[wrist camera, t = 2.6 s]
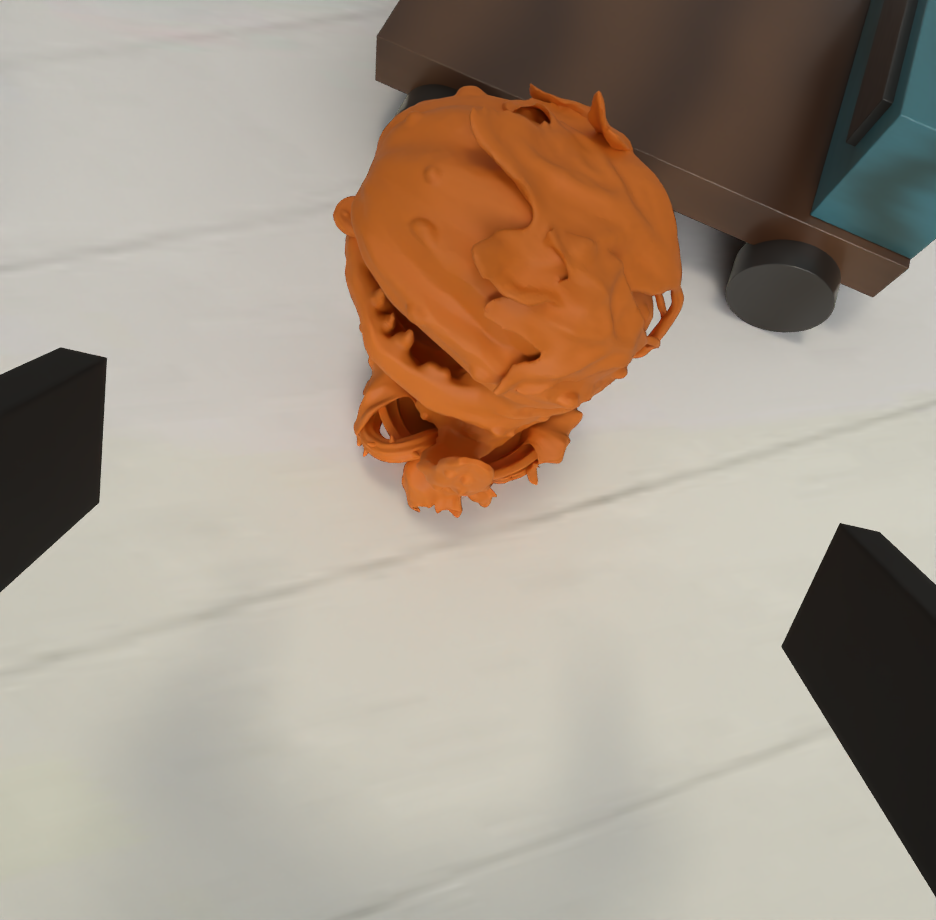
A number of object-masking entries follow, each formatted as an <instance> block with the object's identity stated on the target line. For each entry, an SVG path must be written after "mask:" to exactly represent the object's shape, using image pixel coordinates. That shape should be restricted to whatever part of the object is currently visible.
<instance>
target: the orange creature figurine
mask: <svg viewBox="0 0 936 920" xmlns="http://www.w3.org/2000/svg"><path fill="white" fill-rule="evenodd" d="M529 91H530V95H531V97H532V98H530V99H529V100H508V99H503V98H499V97H495V96H490V95H487V94H486V93H484V92H483V91H482V90H481V89H480V88H478V87H476V86H463V87H462V88H460V89H459V90H458V91H457V93H456V94H455V95H454V96H451V97H445V98H440V99H432V100H425V101H422V102H419V103H417V104H416V105H414V106H411V107H409V108H407V109H406V110H404V111H402V112H401V113H399V114H398V115H397V116H395V117H394V118H393V120H392V121H391V122H390V123H389V124H388V125H387V126H386V127H385V129H384V130H383V132H382V134H381V136H380V138H379V141H378V145H377V150H376V153H375V157H374V160H373V162H372V164H371V166H370V169H369V172H368V174H367V176H366V178H365V180H364V181H363V183H362V185H361V187H360V189H359V191H358V192H357V194H356V196H350V197H347V198H344V199H343V200H341V201H340V202H339V203H338V204H337V206H336V208H335V211H334V214H333V217H334V221H335V223H336V225H337V227H338V228H339V229H340V230H341V231H342V232H343V233H345V234H346V240H345V241H346V244H345V256H346V267H345V276H346V282H347V286H348V289H349V292H350V295H351V298H352V300H353V302H354V305H355V307H356V309H357V312H358V315H359V318H360V325H359V329H360V331H361V333H362V335H363V341H364V346H365V349H366V351H367V353H368V355H369V360H368V363H369V365H370V367H371V369H372V376H371V378H370V380H369V381H368V382H367V384H366V386H365V389H364V391H363V395H364V398H363V400H362V402H361V404H360V407H359V411H358V416H357V419H356V421H355V423H354V431H355V434H356V435H357V445H358V446H361V445H363V447H364V453H363V456H364V457H365V456H366V455H367V454H368V453H369V454H371V455H372V456H373V457H374V458H376V459H379V460H381V461H384V462H389V463H401V462H407V463H406V464H405V466H404V470H403V476H402V485H403V487H404V489H405V492H406V495H407V501H408V505H409V506H410V508H411V509H413V510H415V511H417V512H420V509H419V508H418V506H421V507H428V508H430V507H432V506H433V505H435V510H436V512H437V513H439V512H441V511H442V510H449V511H450V512H451V513H452V514H453V515H454V516H455V517H457V518H458V517H459V516H460V515H461V513H462V506H461V496H468V497H469V498H470V499H471V500H472V501H474V502H478V503H479V504H480V505H481V506H482V507H488V506H489V504H490V503H491V499H492V497H497V495H496V494H495V492H494V491H493V490H492V489H491V488H490V487H491V485H492V484H493V483H498V484H500V483H506V482H508V481H511V480H512V481H513V480H514V479H517V478H521V477H523V476H524V475H526V474H527V476H528V479H529V481H530V482H531V483H532V484H535V485H537V483H538V478H537V467H539V466H538V465H539V464H541V463H560V462H561V461H562V460H563V456H564V452H565V450H566V447H567V446H568V444H569V443H570V439H569V433H570V431H571V430H572V429H573V428H574V427H575V426H577V424H578V423H579V422H580V421H581V419H582V416H583V414H582V413H581V412H580V411H578V410H577V407H579V406H580V404H581V403H583V402H586V401H589V400H591V398H592V396H594V395H595V394H597V393H599V392H600V391H602V390H603V389H604V388H605V387H607V386H608V385H609V384H611V383H612V382H613V381H614V380H615V379H621V378H624V377H625V376H626V375H627V366H628V364H629V363H630V362H631V360H632V358H640V357H643V356H645V355H646V354H647V353H649V352H650V351H651V350H652V349H655V348H659V346H660V340H661V339H662V338H663V336H664V335H665V334H666V332H667V331H668V330H669V328H670V327H671V325H672V324H673V322H674V321H675V319H676V317H677V316H678V314H679V312H680V310H681V308H682V305H683V301H684V296H683V292H682V289H681V286H680V285H681V278H682V266H681V259H680V249H679V243H678V238H677V226H676V219H675V216H674V212H673V208H672V204H671V202H670V199H669V197H668V194H667V192H666V190H665V188H664V187H663V185H662V183H661V182H660V181H659V179H658V178H657V177H656V175H655V174H654V173H653V172H652V171H651V170H650V169H649V168H648V167H647V166H646V165H645V164H644V163H643V162H642V161H641V160H640V159H639V158H638V157H637V156H636V155H635V154H634V153H633V147H632V145H631V143H630V141H629V139H628V138H627V137H626V136H625V135H624V134H623V133H621V132H619V131H618V130H616V129H614V128H613V127H611V126H610V125H609V123H608V121H607V119H606V113H605V103H604V99H603V96H602V93H601V92H600V91H597V92H596V93H595V94H594V96H593V100H592V105H591V107H589V106H586V105H584V104H581V103H579V102H576V101H572V100H567V99H562V98H559V97H556V96H554V95H552V94H549V93H546V92H544V91H542V90H540V89H538V88H537V87H536V86H534V85H533V84H530V88H529ZM668 290H671V298H672V304H671V306H670V308H669V309H668V311H667V310H666V307H665V302H664V298H663V295H662V294H663V293H664V292H666V291H668ZM654 295H655V297H656V302H657V306H658V309H659V311H660V314H661V320H660V321H659V323H658V324H657V325H656V327H655V328H654V329H653V330H652V332H651V333H650V334H649V335H648V336H647V335H646V332H645V331H646V330H647V328H648V326H649V324H650V322H651V320H652V318H653V300H652V296H654ZM382 422H383V424H384V427H385V429H386V430H387V432H388V434H389V436H390V440H389V439H386V438H384V437H383V436H382V435H381V433H380V426H381V424H382ZM537 458H538V459H537ZM539 468H540V467H539Z"/></svg>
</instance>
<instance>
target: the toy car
mask: <svg viewBox="0 0 936 920" xmlns="http://www.w3.org/2000/svg"><path fill="white" fill-rule="evenodd" d="M375 80H376V81H378V82H381V83H383V84H385V85H388V86H390V87H392V88H394V89H397V90H399V91H401V92H404V93H406V94H408V95H407V97H406V98H405V100H404V102H403V103H402V105H401V107H400V108H399V110H398V112H397V114H396V115H395V116H397V115H398V114H399V113H401V112H402V111H404V110H406V109H407V108H409V107H411V106H414V105H416V104H417V103H419V102H422V101H425V100H432V99H440V98H445V97H451V96H454V95H455V94H456V93H457V91H458V90H459V89H460V88H462V87H463V86H476V87H478V88H480V89H481V90H482V91H483V92H484V93H486V94H487V95H490V96H495V97H499V98H503V99H508V100H529V99H530V98H532V97H531V95H530V91H529V88H530V84H533V85H534V86H536V87H537V88H538V89H540V90H542V91H544V92H546V93H549V94H552V95H554V96H556V97H559V98H562V99H567V100H572V101H576V102H579V103H581V104H584V105H586V106H589V107H591V105H592V100H593V96H594V94H595V93H596V92H597V91H600V92H601V93H602V96H603V99H604V103H605V113H606V119H607V121H608V123H609V125H610V126H611V127H613V128H614V129H616V130H618V131H619V132H621V133H623V134H624V135H625V136H626V137H627V138H628V139H629V141H630V143H631V145H632V147H633V153H634V154H635V155H636V156H637V157H638V158H639V159H640V160H641V161H642V162H643V163H644V164H645V165H646V166H647V167H648V168H649V169H650V170H651V171H652V172H653V173H654V174H655V175H656V177H657V178H658V179H659V181H660V182H661V183H662V185H663V187H664V188H665V190H666V192H667V194H668V197H669V199H670V202H671V204H672V208H673V210H674V211H676V212H678V213H681V214H683V215H685V216H687V217H690V218H692V219H694V220H697V221H699V222H701V223H703V224H706V225H708V226H710V227H713V228H715V229H717V230H720V231H722V232H724V233H726V234H729V235H731V236H733V237H736V238H738V239H740V240H742V241H745V242H747V243H746V244H745V245H744V246H743V247H742V248H741V249H740V251H739V252H738V254H737V256H736V259H735V262H734V265H733V268H732V271H731V274H730V277H729V280H728V283H727V287H726V291H725V296H726V301H727V303H728V305H729V307H730V309H731V310H732V311H733V312H734V313H735V314H736V315H737V316H738V317H739V318H741V319H742V320H744V321H745V322H747V323H749V324H751V325H753V326H756V327H758V328H761V329H765V330H769V331H776V332H798V331H803V330H807V329H811V328H813V327H816V326H818V325H819V324H821V323H823V322H824V321H825V320H826V319H827V318H828V317H829V316H830V315H831V313H832V312H833V309H834V306H835V302H836V298H837V294H838V290H839V286H840V283H841V284H843V285H845V286H848V287H850V288H852V289H855V290H857V291H859V292H861V293H864V294H866V295H868V296H871V297H874V296H875V295H877V294H878V293H879V292H880V291H881V290H883V289H884V288H885V287H886V286H888V285H889V284H890V283H891V282H892V281H894V280H895V279H896V278H897V277H899V276H900V275H901V274H902V273H904V272H905V271H906V270H907V269H908V268H909V264H910V259H912V258H913V257H914V256H915V255H917V254H918V253H919V252H920V251H922V250H923V249H924V248H925V247H926V246H928V245H929V244H930V243H931V242H932V241H934V240H935V239H936V0H399V2H398V4H397V5H396V7H395V8H394V10H393V11H392V13H391V15H390V16H389V18H388V19H387V21H386V22H385V24H384V26H383V27H382V29H381V30H380V32H379V33H378V35H377V46H376V75H375Z"/></svg>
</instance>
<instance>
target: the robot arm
mask: <svg viewBox="0 0 936 920" xmlns="http://www.w3.org/2000/svg"><path fill="white" fill-rule="evenodd" d="M106 365H107V358H105V357H101V356H96V355H92V354H87V353H83V352H79V351H74V350H70V349H65V348H58V349H56V350H54V351H52V352H50V353H47V354H45V355H43V356H41V357H38V358H36V359H34V360H32V361H30V362H27V363H25V364H23V365H21V366H19V367H16V368H14V369H12V370H10V371H8V372H5V373H3V374H1V375H0V592H1V591H2V590H3V589H4V588H5V587H7V586H8V585H9V584H10V583H11V582H12V581H13V580H14V579H15V578H16V577H18V576H19V575H20V574H21V573H22V572H23V571H24V570H25V569H26V568H28V567H29V566H30V565H31V564H32V563H33V562H34V561H35V560H36V559H37V558H39V557H40V556H41V555H42V554H43V553H44V552H45V551H46V550H47V549H48V548H50V547H51V546H52V545H53V544H54V543H55V542H56V541H57V540H58V539H59V538H61V537H62V536H63V535H64V534H65V533H66V532H67V531H68V530H69V529H71V528H72V527H73V526H74V525H75V524H76V523H77V522H78V521H79V520H80V519H82V518H83V517H84V516H85V515H86V514H87V513H88V512H89V511H90V510H91V509H93V508H94V507H95V506H96V505H97V504H98V503H99V496H100V477H101V459H102V440H103V421H104V402H105V383H106ZM781 647H782V648H783V650H784V652H785V653H786V655H787V657H788V658H789V660H790V661H791V663H792V665H793V666H794V668H795V670H796V671H797V673H798V674H799V676H800V678H801V679H802V681H803V683H804V684H805V686H806V687H807V689H808V691H809V692H810V694H811V695H812V697H813V699H814V700H815V702H816V704H817V705H818V707H819V708H820V710H821V712H822V713H823V715H824V717H825V718H826V720H827V721H828V723H829V725H830V726H831V728H832V730H833V731H834V733H835V734H836V736H837V738H838V739H839V741H840V743H841V744H842V746H843V747H844V749H845V751H846V752H847V754H848V755H849V757H850V759H851V760H852V762H853V764H854V765H855V767H856V768H857V770H858V772H859V773H860V775H861V777H862V778H863V780H864V781H865V783H866V785H867V786H868V788H869V790H870V791H871V793H872V794H873V796H874V798H875V799H876V801H877V803H878V804H879V806H880V807H881V809H882V811H883V812H884V814H885V816H886V817H887V819H888V820H889V822H890V824H891V825H892V827H893V828H894V830H895V832H896V833H897V835H898V837H899V838H900V840H901V841H902V843H903V845H904V846H905V848H906V850H907V851H908V853H909V854H910V856H911V858H912V859H913V861H914V863H915V864H916V866H917V867H918V869H919V871H920V872H921V874H922V876H923V877H924V879H925V880H926V882H927V884H928V885H929V887H930V888H931V890H932V892H933V893H934V895H935V897H936V585H935V584H934V583H933V582H932V581H931V580H930V579H929V578H928V577H927V576H926V575H925V574H924V573H923V572H922V571H921V570H919V569H918V568H917V567H916V566H915V565H914V564H913V563H912V562H911V561H910V560H909V559H908V558H907V557H906V556H905V555H903V554H902V553H901V552H900V551H899V550H898V549H897V548H896V547H895V546H894V545H893V544H892V543H891V542H890V541H889V540H887V539H886V538H885V537H884V536H883V535H882V534H881V533H880V532H877V531H873V530H868V529H864V528H859V527H855V526H850V525H846V524H841V523H840V524H839V526H838V528H837V530H836V533H835V535H834V537H833V539H832V541H831V543H830V545H829V547H828V549H827V552H826V554H825V556H824V558H823V560H822V562H821V564H820V566H819V568H818V570H817V573H816V575H815V577H814V579H813V581H812V583H811V585H810V587H809V589H808V592H807V594H806V596H805V598H804V600H803V602H802V604H801V606H800V608H799V611H798V613H797V615H796V617H795V619H794V621H793V623H792V625H791V627H790V630H789V632H788V634H787V636H786V638H785V640H784V642H783V644H782V646H781Z"/></svg>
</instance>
